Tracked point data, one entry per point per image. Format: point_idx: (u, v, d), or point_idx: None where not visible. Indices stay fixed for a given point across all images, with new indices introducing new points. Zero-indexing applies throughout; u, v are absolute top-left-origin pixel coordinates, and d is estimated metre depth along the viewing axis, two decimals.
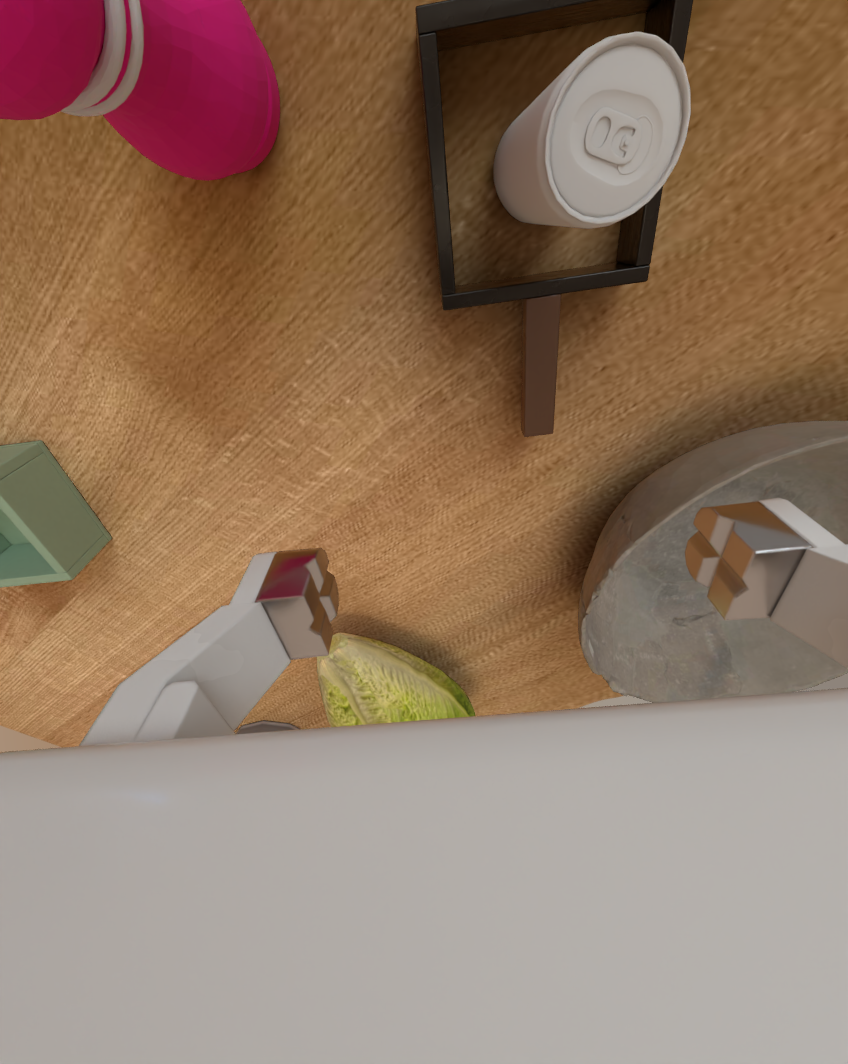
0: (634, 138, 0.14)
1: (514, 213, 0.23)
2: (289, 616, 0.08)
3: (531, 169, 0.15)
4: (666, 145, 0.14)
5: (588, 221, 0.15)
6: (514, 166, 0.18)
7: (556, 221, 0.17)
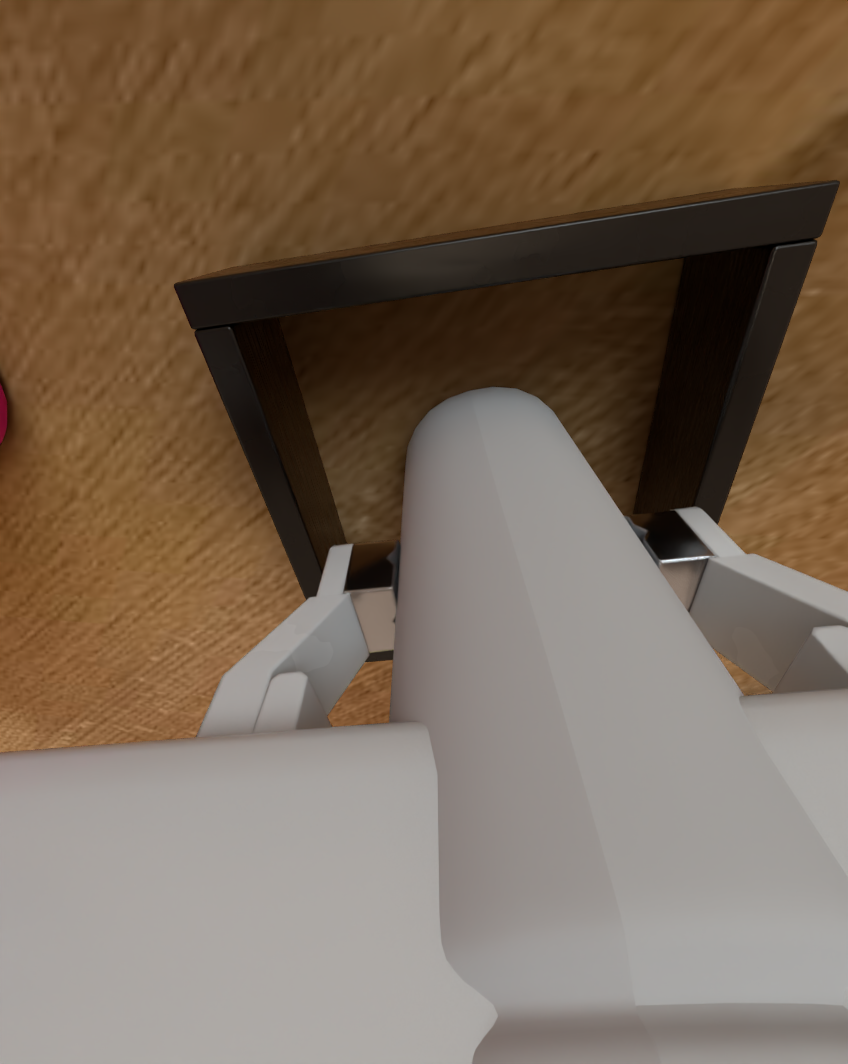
0: None
1: None
2: (375, 608, 0.08)
3: None
4: None
5: None
6: None
7: None
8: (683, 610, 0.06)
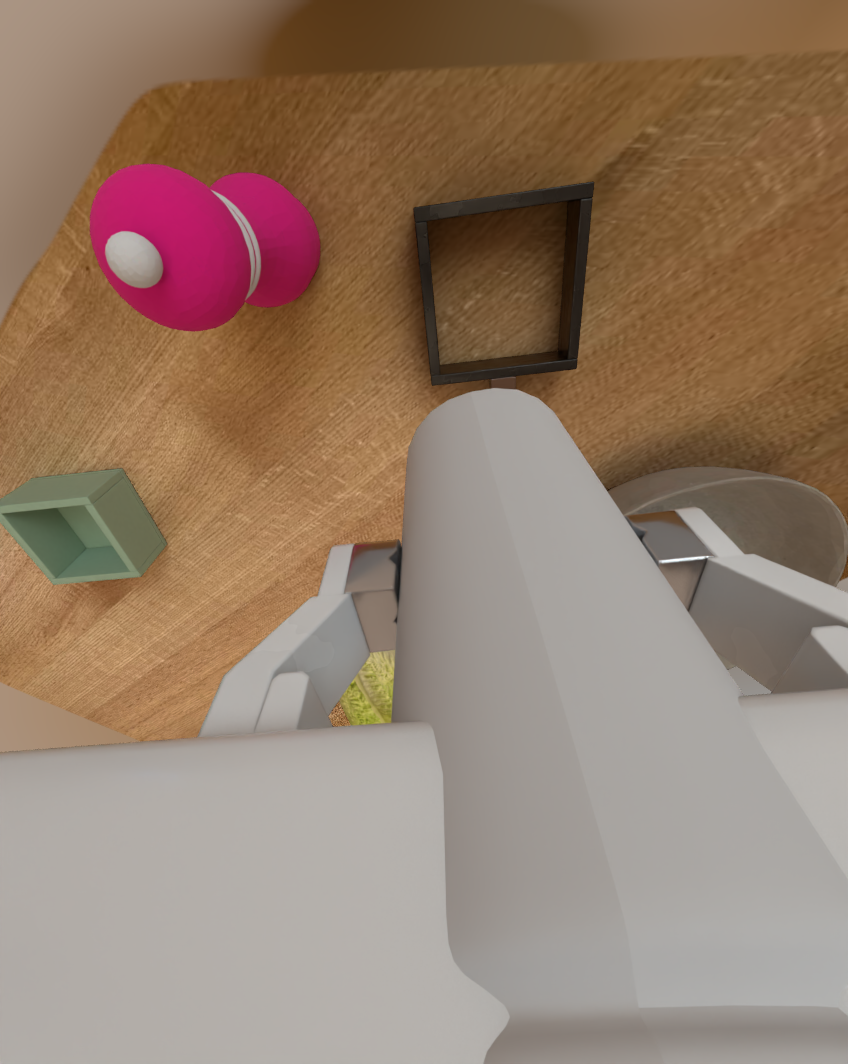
0: None
1: None
2: (376, 608, 0.08)
3: None
4: None
5: None
6: None
7: None
8: (685, 612, 0.06)
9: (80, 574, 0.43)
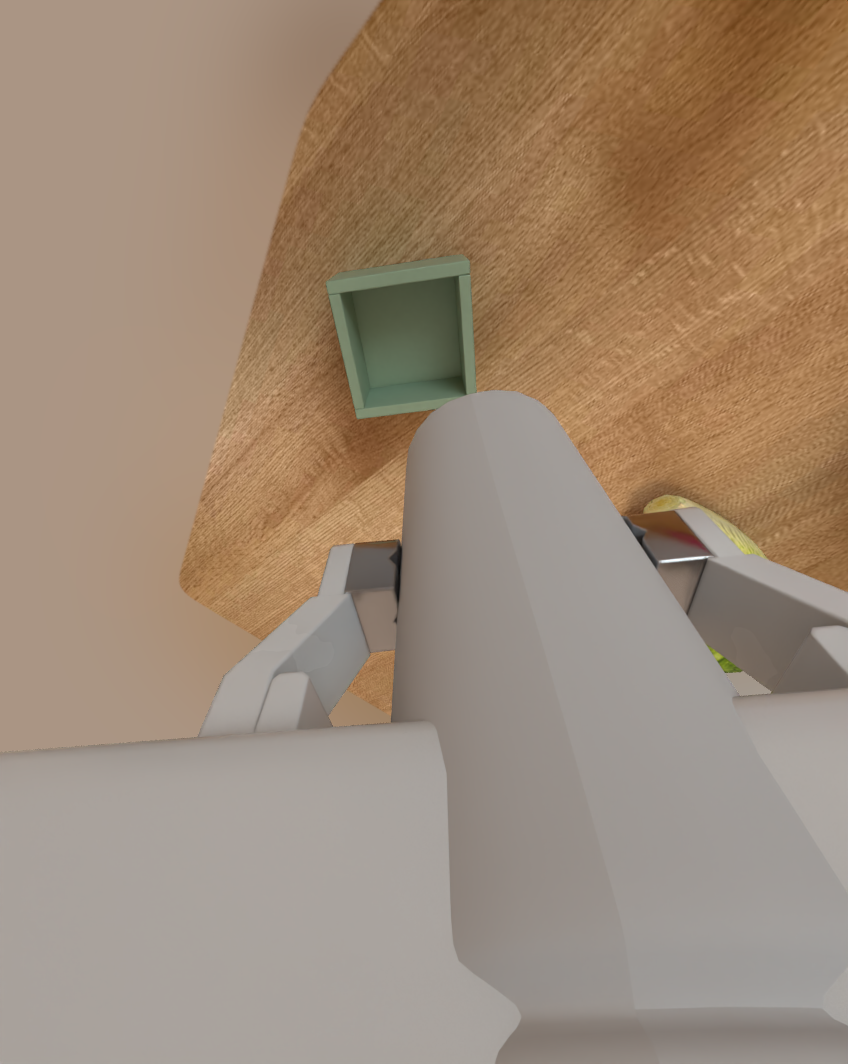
0: None
1: None
2: (376, 608, 0.08)
3: None
4: None
5: None
6: None
7: None
8: (683, 615, 0.06)
9: (395, 402, 0.33)
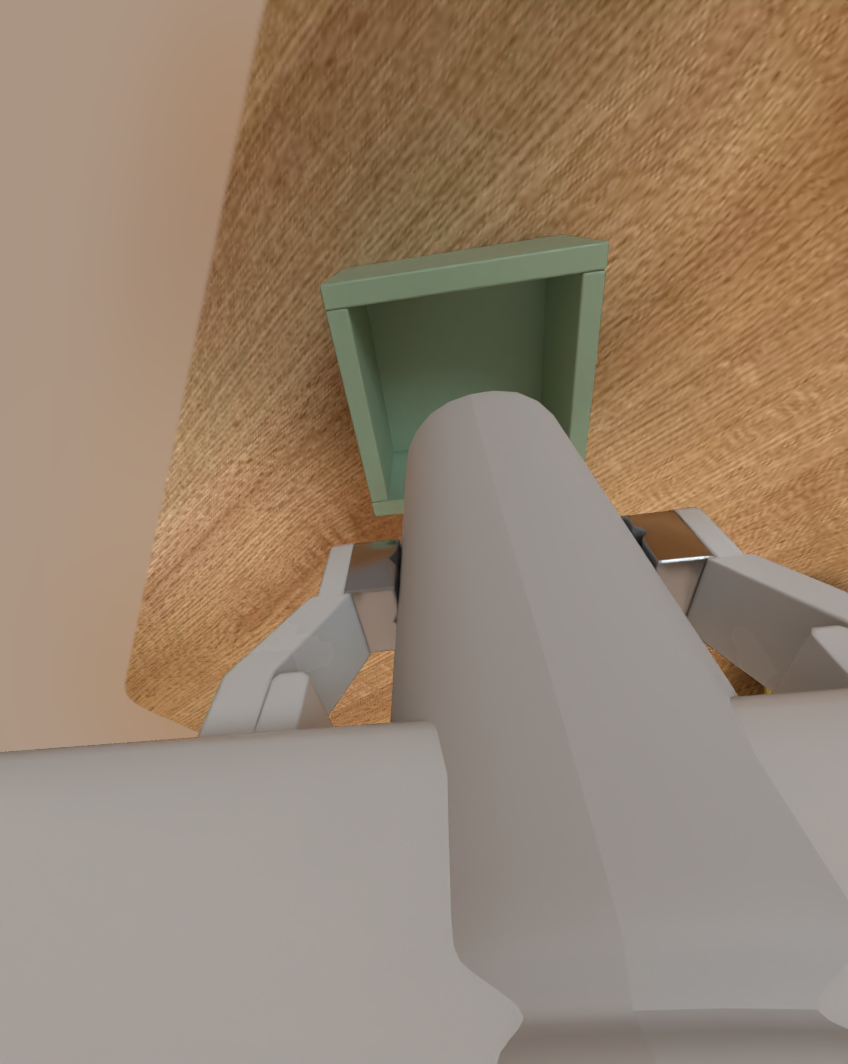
0: None
1: None
2: (376, 608, 0.08)
3: None
4: None
5: None
6: None
7: None
8: (682, 616, 0.06)
9: None
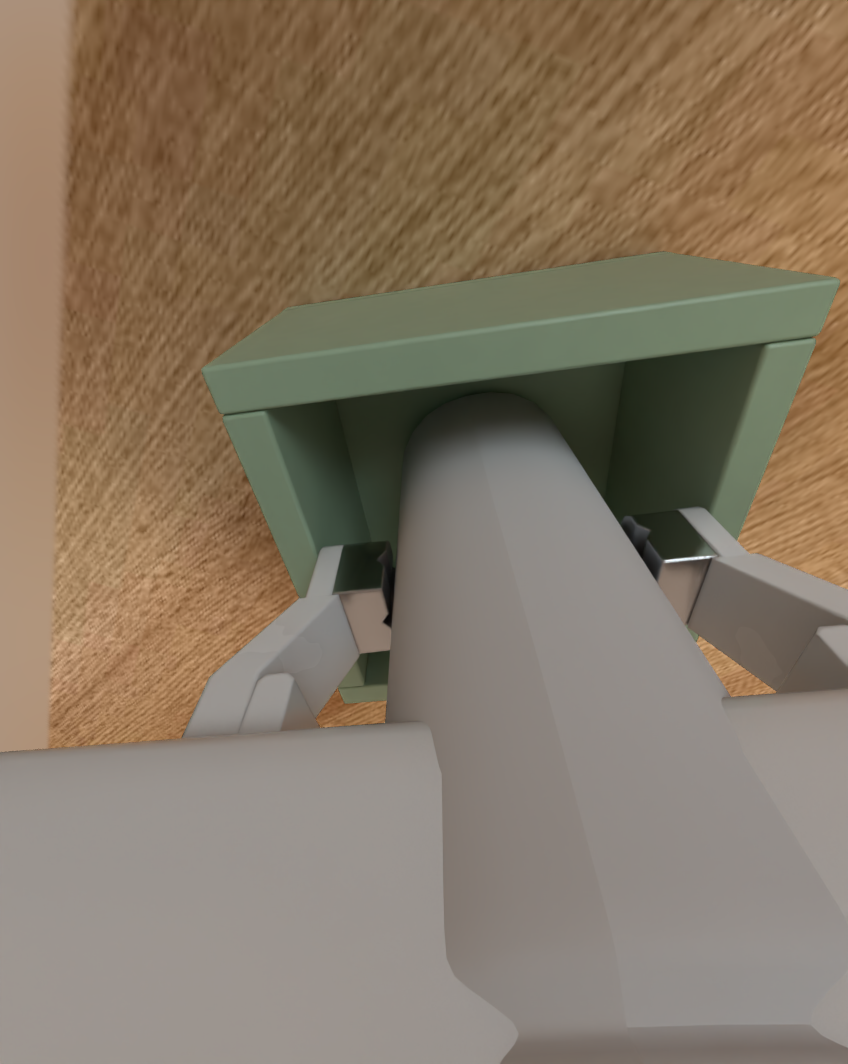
0: None
1: None
2: (364, 609, 0.08)
3: None
4: None
5: None
6: None
7: None
8: (678, 620, 0.06)
9: None
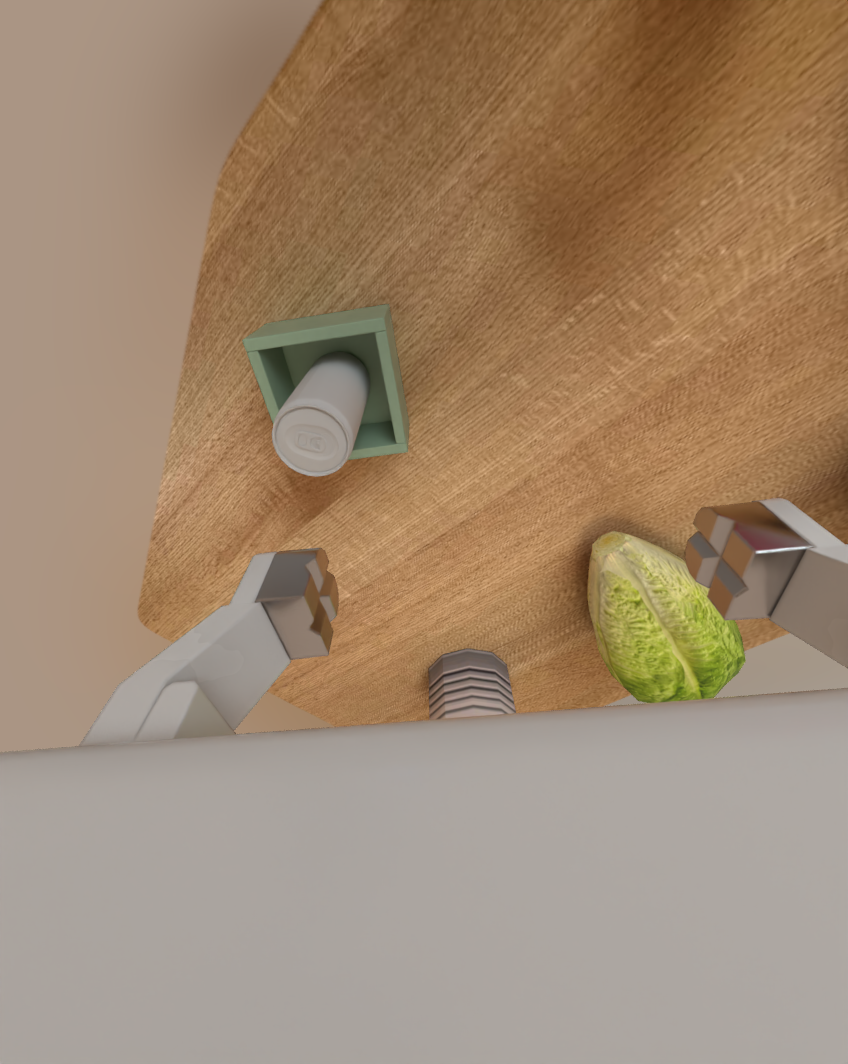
0: (322, 441, 0.25)
1: None
2: (289, 616, 0.08)
3: None
4: (341, 444, 0.25)
5: (310, 475, 0.26)
6: None
7: None
8: (344, 390, 0.27)
9: None
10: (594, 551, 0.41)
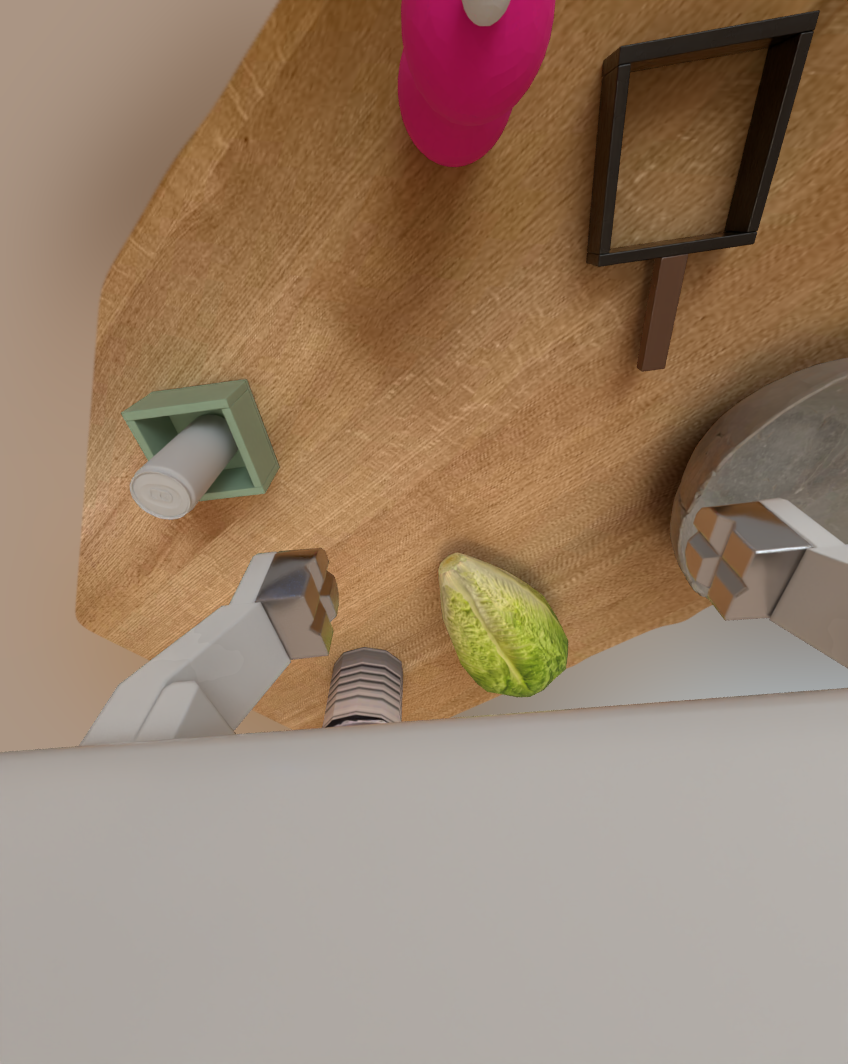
0: (169, 495, 0.34)
1: None
2: (289, 616, 0.08)
3: None
4: (183, 497, 0.34)
5: None
6: None
7: None
8: (194, 454, 0.36)
9: None
10: (439, 569, 0.50)
